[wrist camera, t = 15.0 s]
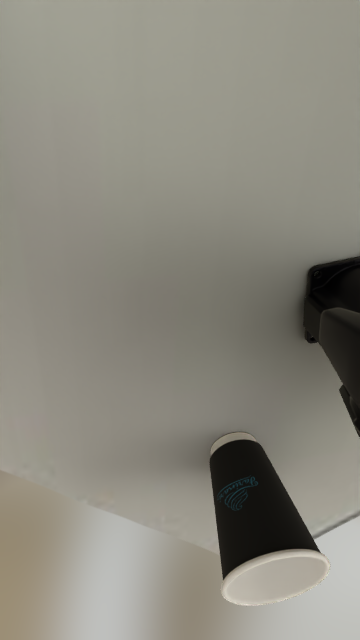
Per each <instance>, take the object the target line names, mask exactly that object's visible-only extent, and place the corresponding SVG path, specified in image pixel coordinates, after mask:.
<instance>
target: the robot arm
mask: <svg viewBox="0 0 360 640" xmlns="http://www.w3.org/2000/svg"><path fill="white" fill-rule="evenodd" d="M317 271H318V274H317V275H315V276H314V274H315V273H316V272H317ZM303 326H304V327H305V339H306V340H307V341H308V343H316V342H318V343H319V344H320V345H321V346H322V348H323V350H324V352H325V353H326V355H327V357H328V358H329V360H330V362H331V364H332V365H333V367H334V369H335V371H336V372H337V374H338V376H339V378H340V379H341V381H342V383H343V385H342V386H341V388H340V389H339V391H340V394H341V396H342V398H343V401H344V403H345V405H346V408H347V410H348V412H349V415H350V417H351V419H352V422H353V424H354V426H355V429H356V431H357V433H358V435H359V437H360V256H359V257H355V258H350V259H345V260H340V261H336V262H331V263H326V264H322V265H317V266H314V267H312V268H311V269H310V270H309V272H308V284H307V296H306V298H305V302H304V322H303ZM312 336H313V337H312ZM311 337H312V338H311Z"/></svg>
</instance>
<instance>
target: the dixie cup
mask: <svg viewBox="0 0 360 640" xmlns="http://www.w3.org/2000/svg"><path fill="white" fill-rule="evenodd" d="M210 471H211V479H212V488H213V497H214V505H215V514H216V523H217V531H218V540H219V549H220V557H221V566H222V574H223V582H222V585H221V593H222V595H223V597H224V598H225V599H226V600H227V601H229V602H231V603H234V604H238V605H264V604H270V603H275V602H279V601H283V600H286V599H289V598H292V597H295V596H297V595H300V594H302V593H304V592H306V591H308V590H310V589H312V588H313V587H315V586H316V585H318V584H319V583H320V582H321V581H322V580H324V579H325V577H326V576H327V574H328V573H329V570H330V562H329V560H328V558H327V557H326V556H325V555H323V554H322V553H321V552H320V551H319V549H318V548H317V545H316V544H315V542H314V540H313V538H312V536H311V534H310V533H309V531H308V529H307V527H306V525H305V524H304V522H303V520H302V518H301V516H300V514H299V513H298V511H297V509H296V507H295V505H294V504H293V502H292V500H291V498H290V496H289V495H288V493H287V491H286V489H285V487H284V486H283V484H282V482H281V480H280V478H279V477H278V475H277V473H276V471H275V469H274V467H273V466H272V464H271V462H270V460H269V458H268V457H267V455H266V453H265V451H264V449H263V448H262V446H261V445H260V444H259V443H257V441H256V439H255V438H254V437H253V436H252V435H250V434H248V433H243V432H236V433H230V434H227V435H225V436H223V437H221V438H219V439H218V440H217V441H216V442H215V443H214V444H213V445H212V447H211V458H210Z"/></svg>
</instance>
